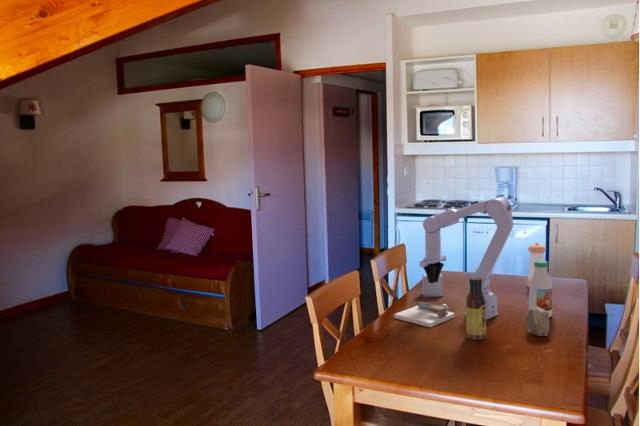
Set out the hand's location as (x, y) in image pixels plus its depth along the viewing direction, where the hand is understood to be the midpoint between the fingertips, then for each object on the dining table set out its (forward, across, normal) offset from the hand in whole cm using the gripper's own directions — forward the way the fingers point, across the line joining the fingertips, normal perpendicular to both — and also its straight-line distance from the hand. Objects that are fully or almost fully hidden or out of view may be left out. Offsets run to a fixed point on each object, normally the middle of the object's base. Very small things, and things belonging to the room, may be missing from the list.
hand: (433, 282), depth 215 cm
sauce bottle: (+11, +17, +29) cm, 35 cm away
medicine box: (+11, -15, -11) cm, 21 cm away
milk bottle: (+11, -18, +34) cm, 40 cm away
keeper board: (+10, +11, +4) cm, 16 cm away
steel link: (+9, +6, +4) cm, 12 cm away
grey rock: (+11, 0, +42) cm, 43 cm away
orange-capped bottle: (+11, -54, +15) cm, 57 cm away
